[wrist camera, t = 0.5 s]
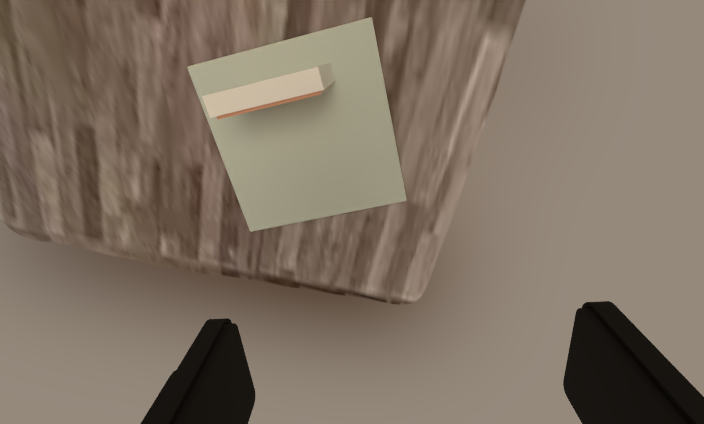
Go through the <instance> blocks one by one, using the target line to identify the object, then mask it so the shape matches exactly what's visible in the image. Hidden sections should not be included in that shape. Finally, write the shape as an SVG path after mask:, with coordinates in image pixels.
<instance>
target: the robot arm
mask: <svg viewBox="0 0 704 424" xmlns="http://www.w3.org/2000/svg"><path fill="white" fill-rule="evenodd" d="M564 390H565V393H566V395H567V397H568V399H569V401H570V403H571V405H572V406H573V408H574V410H575V412H576V413H577V415H578V417H579V419H580V420H581V422H582V424H704V397H703V396H702V395H701V394H700V393H699V392H698V391H697V390H696V389H695V388H694V387H693V385H691V383H689V381H688V380H687V379H686V378H685V377H684V376H683V375H682V374H681V373H680V372H679V371H678V370H677V369H676V368H675V367H674V366H673V365H672V364H671V363H670V362H669V361H668V360H667V359H666V358H665V357H664V356H663V355H662V353H660V351H659V350H658V349H657V348H656V347H655V346H654V345H653V344H652V343H651V342H650V341H649V340H648V339H647V338H646V337H645V336H644V335H643V334H642V333H641V332H640V331H639V330H638V329H637V328H636V326H635V325H634V324H633V323H631V321H630V320H629V319H628V318H627V317H626V316H625V315H624V314H623V313H622V312H621V311H620V310H619V309H618V308H617V307H616V306H615V305H614V304H613V303H611V302H609V301H606V302H587V303H585V304H584V305H583V306H582V308H579V309H578V310H577V311H576V316H575V322H574V327H573V332H572V338H571V343H570V348H569V354H568V360H567V365H566V370H565V376H564ZM254 402H255V389H254V386H253V382H252V378H251V375H250V371H249V367H248V363H247V360H246V356H245V353H244V349H243V345H242V341H241V338H240V334H239V330H238V327H237V325H236V324H232V323H231V320H230V319H209V320H207V321H206V323H205V324H204V326H203V327H202V329H201V331H200V332H199V334H198V336H197V337H196V339H195V341H194V342H193V344H192V346H191V347H190V349H189V350H188V352H187V354H186V355H185V357H184V359H183V360H182V362H181V364H180V365H179V367H178V369H177V370H176V371H174V372H173V373H172V375H171V376H170V377H169V379H168V380H167V382H166V384H165V386H164V387H163V389H162V390H161V392H160V393H159V395H158V397H157V398H156V400H155V401H154V403H153V405H152V406H151V408H150V409H149V411H148V413H147V414H146V416H145V418H144V419H143V421H142V422H141V424H248V421H249V418H250V415H251V412H252V409H253V406H254Z"/></svg>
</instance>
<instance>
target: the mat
mask: <svg viewBox="0 0 704 424" xmlns="http://www.w3.org/2000/svg"><path fill="white" fill-rule="evenodd" d="M327 63H331V65H332V70H333V74H334V78H335V81H334V82H333V83H332V85H331V86H330V87H329V88H327V89H326V90H325V91H324V92H323V93H322V94H320V95H316V96H312V97H308V98H304V99H300V100H296V101H291V102H287V103H283V104H279V105H275V106H271V107H267V108H263V109H259V110H255V111H251V112H247V113H242V114H238V115H234V116H230V117H226V118H222V119H217V117H212V118H210V116H209V114H208V111H207V109H206V106H205V103H204V101H203V98H202V96H205V95H208V94H212V93H216V92H219V91H223V90H227V89H230V88H234V87H238V86H241V85H245V84H249V83H253V82H257V81H261V80H265V79H269V78H273V77H276V76H280V75H284V74H288V73H292V72H296V71H300V70H304V69H308V68H312V67H315V66H319V65H323V64H327ZM187 68H188V71H189V73H190V76H191V79H192V81H193V84H194V86H195V89H196V92H197V94H198V97H199V99H200V102H201V105H202V107H203V110H204V112H205V115H206V118H207V120H208V123H209V125H210V128H211V131H212V133H213V136H214V138H215V141H216V144H217V146H218V149H219V151H220V154H221V157H222V159H223V162H224V164H225V167H226V170H227V172H228V175H229V177H230V180H231V183H232V185H233V188H234V190H235V193H236V196H237V198H238V201H239V203H240V206H241V209H242V211H243V214H244V217H245V219H246V222H247V224H248V227H249V230H250V232H251V231H257V230H262V229H267V228H272V227H277V226H282V225H287V224H292V223H297V222H302V221H307V220H312V219H317V218H322V217H327V216H332V215H338V214H343V213H348V212H353V211H358V210H363V209H368V208H373V207H378V206H383V205H388V204H393V203H398V202H403V201H407V199H406V194H405V189H404V183H403V178H402V173H401V168H400V163H399V157H398V152H397V147H396V142H395V136H394V131H393V126H392V121H391V115H390V110H389V105H388V100H387V94H386V89H385V84H384V79H383V73H382V68H381V63H380V58H379V52H378V47H377V42H376V37H375V31H374V26H373V21H372V17H370V18H366V19H363V20H359V21H355V22H352V23H348V24H344V25H340V26H337V27H333V28H329V29H326V30H322V31H318V32H314V33H311V34H307V35H303V36H300V37H296V38H292V39H288V40H285V41H281V42H277V43H274V44H270V45H266V46H262V47H259V48H255V49H251V50H248V51H244V52H240V53H236V54H233V55H229V56H225V57H222V58H218V59H214V60H210V61H207V62H203V63H199V64H196V65H192V66H188V67H187Z"/></svg>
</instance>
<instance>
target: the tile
mask: <svg viewBox="0 0 704 424" xmlns="http://www.w3.org/2000/svg"><path fill="white" fill-rule="evenodd" d="M334 81H335V78H334V74H333V70H332V65H331V63H327V64H323V65H319V66H315V67H312V68H308V69H304V70H300V71H296V72H292V73H288V74H284V75H280V76H276V77H273V78H269V79H265V80H261V81H257V82H253V83H249V84H245V85H241V86H238V87H234V88H230V89H227V90H223V91H219V92H216V93H212V94H208V95H205V96H202V98H203V101H204V103H205V106H206V109H207V111H208V114H209V116H210V118H212V117H217V119H222V118H226V117H230V116H234V115H238V114H242V113H247V112H251V111H255V110H259V109H263V108H267V107H271V106H275V105H279V104H283V103H287V102H291V101H296V100H300V99H304V98H308V97H312V96H316V95H320V94H322V93H323V92H324V91H325V90H326V89H327V88H329V87H330V86H331V85H332V83H333V82H334Z"/></svg>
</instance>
